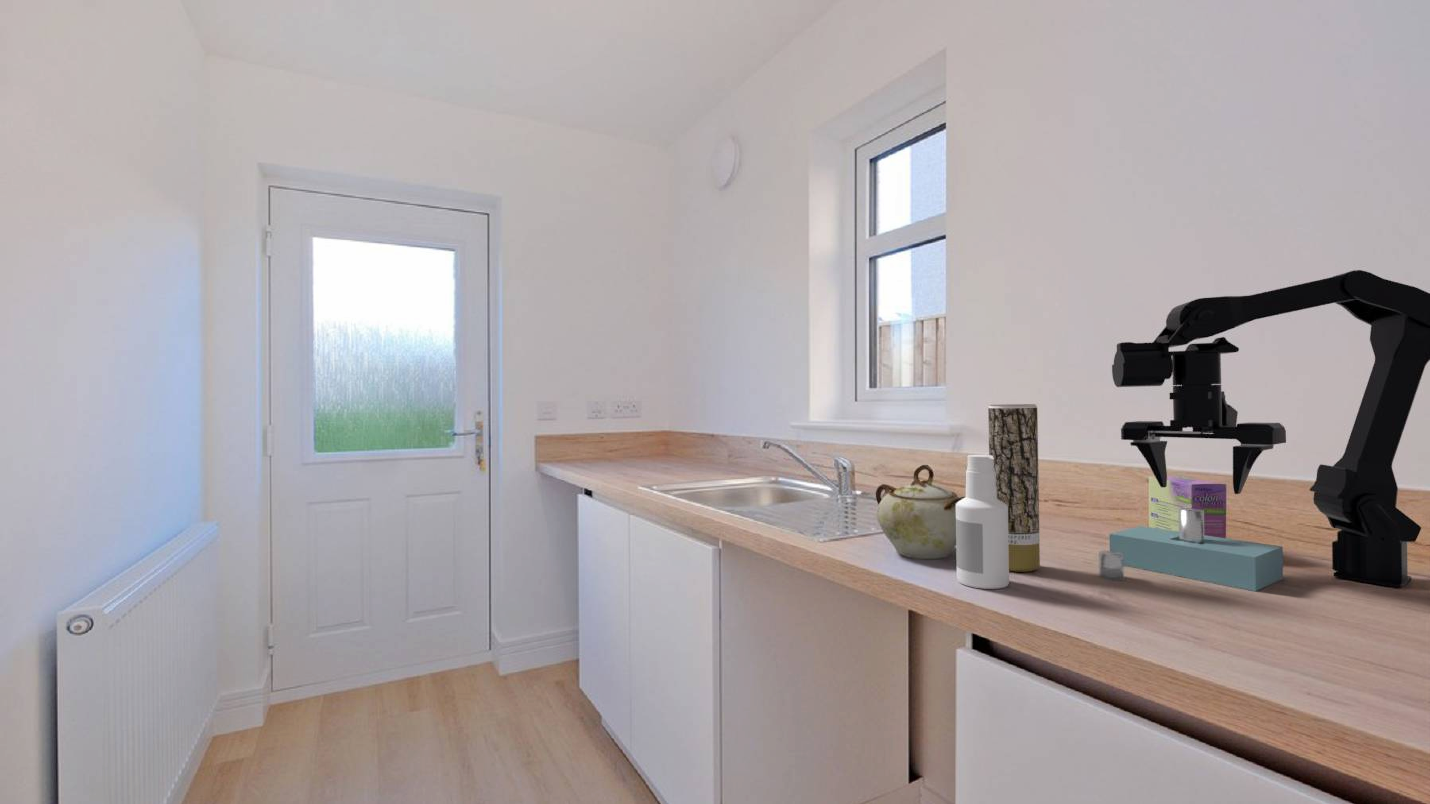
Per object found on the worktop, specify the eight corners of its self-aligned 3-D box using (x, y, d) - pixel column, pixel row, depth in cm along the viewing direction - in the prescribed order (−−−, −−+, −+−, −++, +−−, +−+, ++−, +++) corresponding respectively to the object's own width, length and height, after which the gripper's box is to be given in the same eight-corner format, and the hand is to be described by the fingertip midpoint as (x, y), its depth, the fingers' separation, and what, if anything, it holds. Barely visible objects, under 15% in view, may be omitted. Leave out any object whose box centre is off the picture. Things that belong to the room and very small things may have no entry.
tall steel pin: (1208, 570, 92) (1207, 510, 92) (1199, 574, 91) (1198, 512, 91) (1184, 566, 95) (1183, 507, 95) (1175, 569, 93) (1174, 509, 93)
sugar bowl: (1003, 557, 102) (1001, 465, 102) (948, 573, 94) (946, 473, 93) (903, 537, 118) (902, 457, 118) (849, 549, 110) (847, 463, 110)
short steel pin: (1127, 578, 90) (1127, 553, 90) (1117, 581, 88) (1117, 556, 88) (1105, 573, 92) (1105, 549, 92) (1095, 576, 91) (1094, 552, 91)
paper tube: (1046, 574, 92) (1043, 404, 92) (996, 572, 94) (994, 405, 93) (1032, 562, 99) (1029, 404, 99) (986, 560, 100) (983, 404, 100)
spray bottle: (965, 573, 93) (963, 452, 93) (1014, 581, 89) (1012, 454, 89) (950, 584, 88) (947, 456, 88) (1001, 593, 84) (999, 458, 84)
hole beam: (1282, 578, 88) (1282, 546, 88) (1255, 591, 83) (1255, 557, 83) (1140, 553, 103) (1140, 525, 103) (1109, 562, 98) (1109, 533, 98)
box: (1228, 556, 100) (1227, 483, 100) (1191, 557, 100) (1190, 483, 100) (1181, 541, 111) (1180, 475, 110) (1148, 542, 111) (1147, 475, 111)
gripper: (1298, 382, 89) (1300, 491, 89) (1151, 386, 105) (1153, 479, 105) (1269, 383, 83) (1272, 500, 83) (1118, 387, 99) (1120, 486, 99)
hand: (1199, 490), depth 93 cm, fingers open, 9 cm apart
